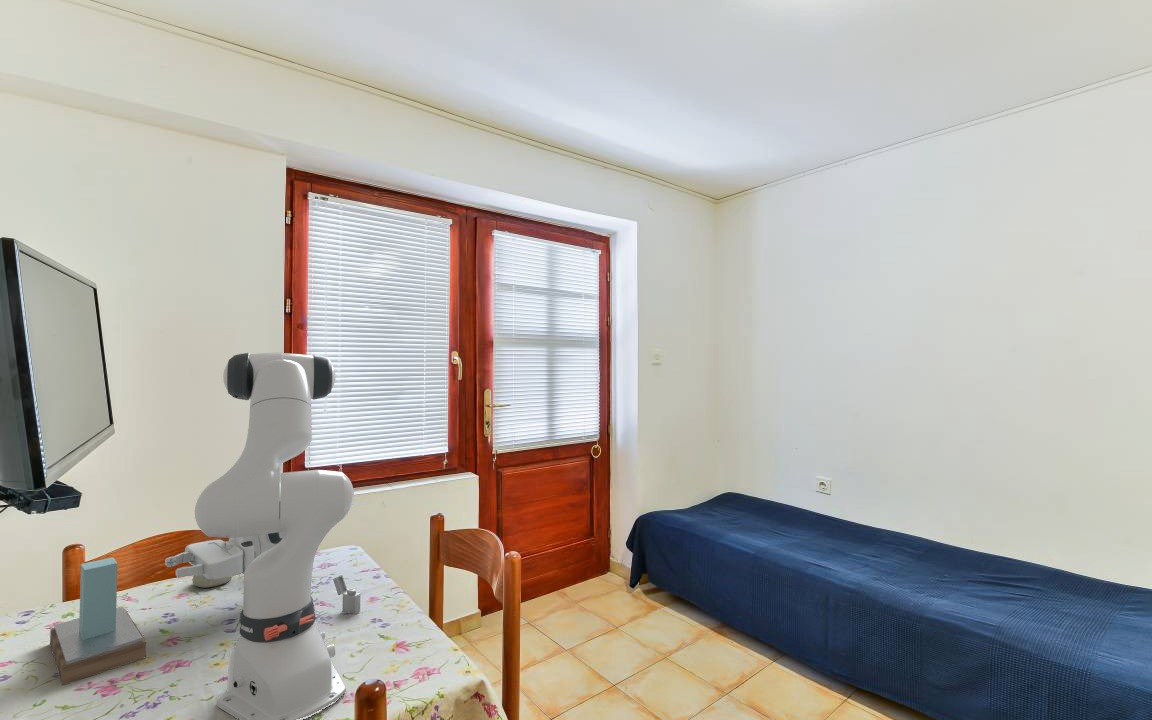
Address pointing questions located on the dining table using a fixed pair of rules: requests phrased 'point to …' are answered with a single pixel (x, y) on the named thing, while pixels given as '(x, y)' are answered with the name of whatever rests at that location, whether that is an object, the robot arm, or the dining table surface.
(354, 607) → the lighter
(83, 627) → the teal block
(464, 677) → the dining table surface
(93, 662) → the plinth
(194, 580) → the sea urchin shell
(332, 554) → the dining table surface
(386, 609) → the dining table surface
